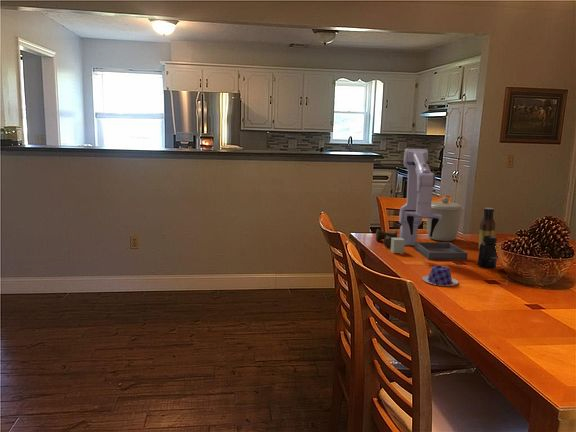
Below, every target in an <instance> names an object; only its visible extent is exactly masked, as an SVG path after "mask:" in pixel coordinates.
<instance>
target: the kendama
mask: <svg viewBox="0 0 576 432" xmlns="http://www.w3.org/2000/svg"><path fill="white" fill-rule="evenodd" d="M391 238H398V232H397V230H392V231H390V232H385V231H382V230H381V229H379V228H377V229H376V231H375V241H376V242H380V241H382V240H383V243H384V247H385V248H387V249H391Z"/></svg>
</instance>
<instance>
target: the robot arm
mask: <svg viewBox="0 0 576 432" xmlns="http://www.w3.org/2000/svg"><path fill="white" fill-rule="evenodd" d="M428 159H429V150H428V149H427V148H405V149H404V153H403V167H405V168H406V169H407V181H406V182H407V184H406V203H405V204H404V205H402V206H401V207H400V208H399V212H398V213H399V214H398V215H399V216H398V222H399V224H400V225H401V226H400V227H399V235H398V238H403V239H404V240H405V243H404V246H415V242H418V240H417V239H418V229H419V227H420V225H421V224H422V223H423V219H426V220H427V219H432V222H431V232H430V237H432V234H433V231H434V228H435V226H436V224H437V223H438V221H439V220H441V219H442V215H440V214H432V213H431V202H433V201H432V200H433V190H434V188H435V185H436V174H435V173H434V172H432V171H431V168H430V166H429V164H428V163H427V162H428Z"/></svg>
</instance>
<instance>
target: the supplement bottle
mask: <svg viewBox="0 0 576 432" xmlns="http://www.w3.org/2000/svg"><path fill="white" fill-rule="evenodd" d="M483 241H484V242H482V243H481V244H480V248H478V258H477V266H478V267H480V268H483V269H487V270H488V269H489V270H495V269H496V268H497V264H498V257H499V256H497V253H496V249H495V246H496V245H498V244H497V243H498V237H497V236H495V237H494V236H484V238H483Z"/></svg>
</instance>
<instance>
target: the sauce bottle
mask: <svg viewBox="0 0 576 432" xmlns="http://www.w3.org/2000/svg"><path fill="white" fill-rule="evenodd" d="M494 212H495V208H493V207H484V208H483V218H482V220H481V221H480V226H479V235H478V247H477V248H478V249H479V248H480V244H481V243H482V242H484V241H483V238H484V236H494V237H496V236H495V235H496V222H495V220H494Z"/></svg>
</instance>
